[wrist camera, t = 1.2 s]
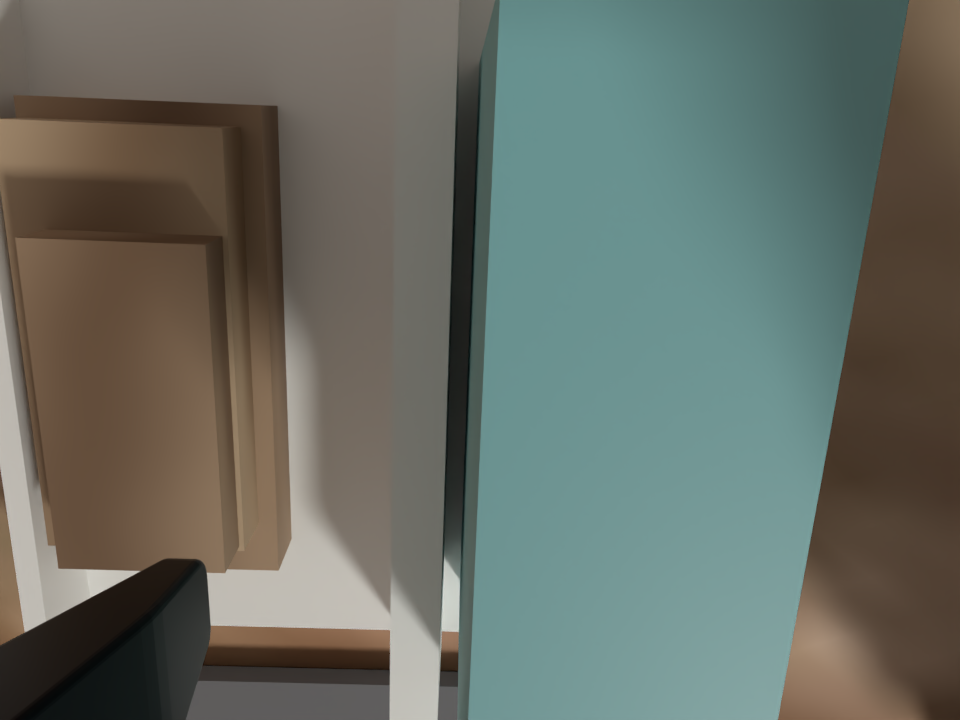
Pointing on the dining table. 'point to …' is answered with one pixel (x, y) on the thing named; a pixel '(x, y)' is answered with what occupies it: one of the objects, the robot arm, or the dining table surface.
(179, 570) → the robot arm
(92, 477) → the offcut stack
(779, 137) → the teal flat block
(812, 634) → the dining table surface
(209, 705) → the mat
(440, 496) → the rack
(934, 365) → the dining table surface
